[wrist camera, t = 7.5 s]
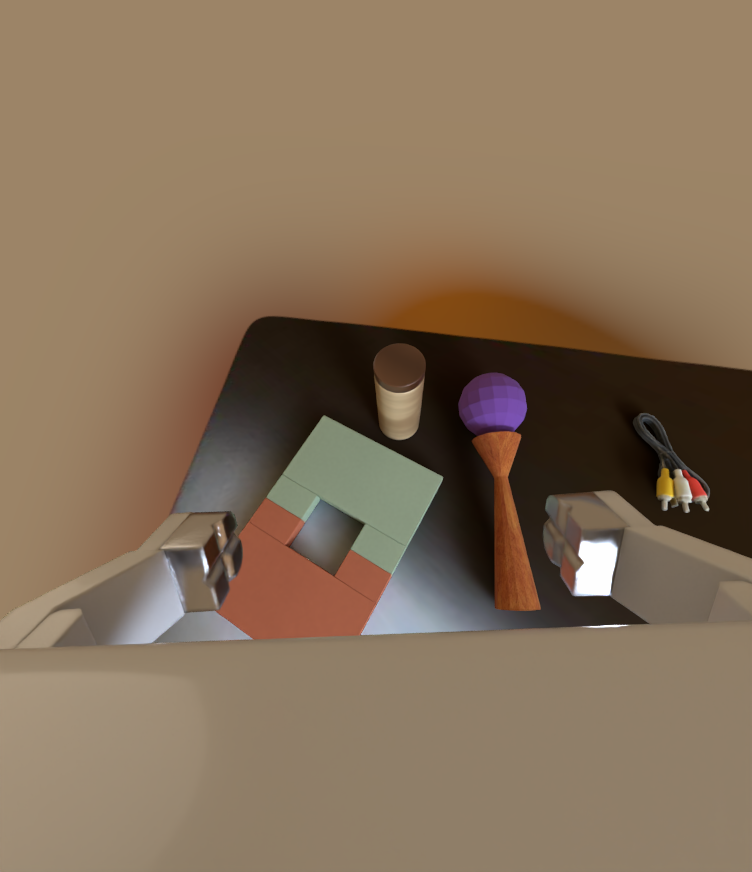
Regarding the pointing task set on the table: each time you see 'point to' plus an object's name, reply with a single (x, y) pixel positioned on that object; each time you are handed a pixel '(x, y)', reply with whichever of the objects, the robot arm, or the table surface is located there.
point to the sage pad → (359, 489)
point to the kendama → (501, 480)
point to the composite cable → (672, 469)
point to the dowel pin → (399, 389)
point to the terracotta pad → (297, 585)
